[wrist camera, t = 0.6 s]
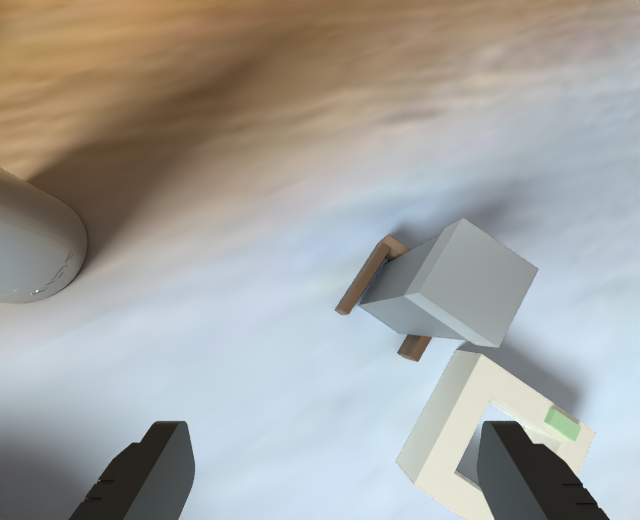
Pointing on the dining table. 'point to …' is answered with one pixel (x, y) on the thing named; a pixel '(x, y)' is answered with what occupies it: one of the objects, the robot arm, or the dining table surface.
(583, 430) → the frame
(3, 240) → the robot arm
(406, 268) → the plug
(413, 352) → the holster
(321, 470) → the dining table surface
